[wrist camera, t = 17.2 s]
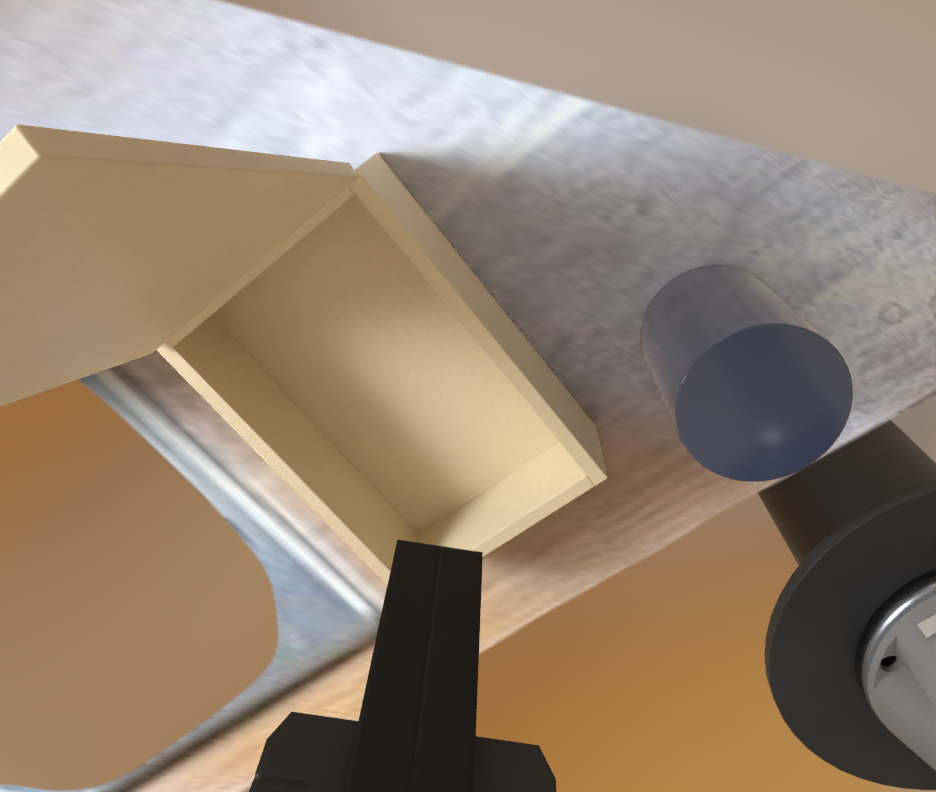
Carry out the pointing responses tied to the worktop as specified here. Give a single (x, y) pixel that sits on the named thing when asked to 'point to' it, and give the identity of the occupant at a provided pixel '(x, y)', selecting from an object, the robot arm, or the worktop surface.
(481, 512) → the cream wooden crate
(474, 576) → the robot arm
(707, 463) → the dark grey cylinder
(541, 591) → the worktop surface
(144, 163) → the bin lid
